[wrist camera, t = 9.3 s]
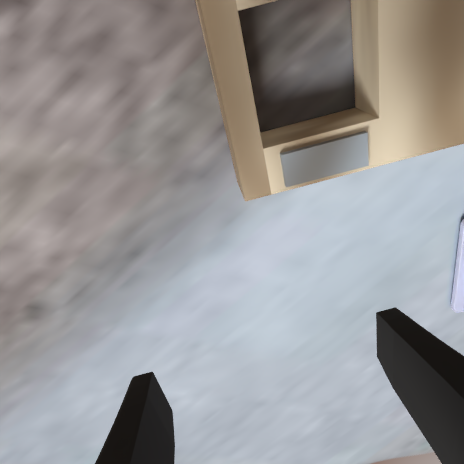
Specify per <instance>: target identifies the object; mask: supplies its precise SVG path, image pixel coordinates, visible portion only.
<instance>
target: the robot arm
mask: <svg viewBox="0 0 464 464" xmlns="http://www.w3.org/2000/svg"><path fill="white" fill-rule="evenodd" d="M451 308H452V309H453V310H454V311H455V312H462V311H464V219H463V220H462V222H461V225H460V233H459V242H458V250H457V258H456V267H455V275H454V283H453V292H452V300H451ZM376 319H377V357H378V359H379V361H380V363H381V365H382V367H383V369H384V371H385V373H386V375H387V377H388V379H389V381H390V383H391V385H392V387H393V389H394V390H395V392H396V393H397V395H398V396H399V398H400V400H401V401H402V403H403V404H404V406H405V407H406V409H407V410H408V412H409V414H410V415H411V417H412V418H413V420H414V421H415V423H416V424H417V426H418V427H419V429H420V430H421V432H422V433H423V435H424V437H425V438H426V440H427V441H428V443H429V444H430V446H431V447H432V449H433V450H434V452H435V453H436V455H437V456H438V458H439V460H440V461H441V463H442V464H464V356H463V355H461V354H460V353H458V352H457V351H456V350H454V349H453V348H451V347H450V346H448V345H447V344H445V343H444V342H442V341H441V340H439V339H438V338H437V337H435V336H434V335H433V334H431V333H430V332H428V331H427V330H426V329H424V328H423V327H421V326H420V325H419V324H417V323H416V322H415V321H413V320H412V319H411V318H409V317H408V316H407V315H405V314H404V313H403V312H401V311H400V310H398V309H397V308H392V309H388V310H384V311H380V312H377V313H376ZM174 452H175V442H174V426H173V413H172V409H171V407H170V405H169V403H168V401H167V399H166V397H165V395H164V393H163V391H162V389H161V387H160V385H159V383H158V381H157V379H156V377H155V375H154V373H153V372H149V373H146V374H142V375H138V376H134V377H133V378H132V380H131V382H130V385H129V387H128V390H127V392H126V395H125V397H124V400H123V402H122V405H121V407H120V410H119V412H118V414H117V417H116V419H115V421H114V424H113V426H112V428H111V430H110V433H109V435H108V437H107V439H106V441H105V444H104V446H103V448H102V450H101V452H100V454H99V456H98V459H97V461H96V463H95V464H174Z"/></svg>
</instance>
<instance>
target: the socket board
mask: <svg viewBox="0 0 464 464" xmlns="http://www.w3.org/2000/svg"><path fill="white" fill-rule="evenodd" d="M195 1H196V6H197V10H198V14H199V19H200V23H201V27H202V31H203V36H204V40H205V44H206V49H207V53H208V57H209V62H210V66H211V70H212V74H213V79H214V83H215V87H216V92H217V96H218V100H219V105H220V109H221V113H222V117H223V122H224V126H225V130H226V135H227V139H228V143H229V148H230V152H231V156H232V160H233V165H234V169H235V173H236V178H237V182H238V185H239V187H240V189H241V192H242V194H243V197H244V199H245V201H249V200H253V199H256V198H260V197H264V196H268V195H271V194H275V193H279V192H283V191H286V190H290V189H294V188H298V187H302V186H305V185H309V184H313V183H317V182H320V181H324V180H328V179H332V178H336V177H339V176H343V175H347V174H351V173H354V172H358V171H362V170H366V169H369V168H373V167H377V166H381V165H385V164H388V163H392V162H396V161H400V160H403V159H407V158H411V157H415V156H419V155H422V154H426V153H430V152H434V151H437V150H441V149H445V148H449V147H452V146H456V145H460V144H464V0H351V20H352V42H353V64H354V86H355V108H352V109H348V110H344V111H340V112H337V113H333V114H329V115H325V116H321V117H318V118H314V119H310V120H306V121H302V122H299V123H295V124H291V125H287V126H284V127H280V128H276V129H272V130H268V131H265V132H261V133H260V129H259V124H258V118H257V113H256V107H255V102H254V96H253V91H252V86H251V80H250V75H249V69H248V64H247V58H246V53H245V47H244V42H243V37H242V31H241V26H240V20H239V15H238V11H239V10H243V9H247V8H251V7H255V6H258V5H262V4H266V3H270V2H274V1H278V0H195Z"/></svg>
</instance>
